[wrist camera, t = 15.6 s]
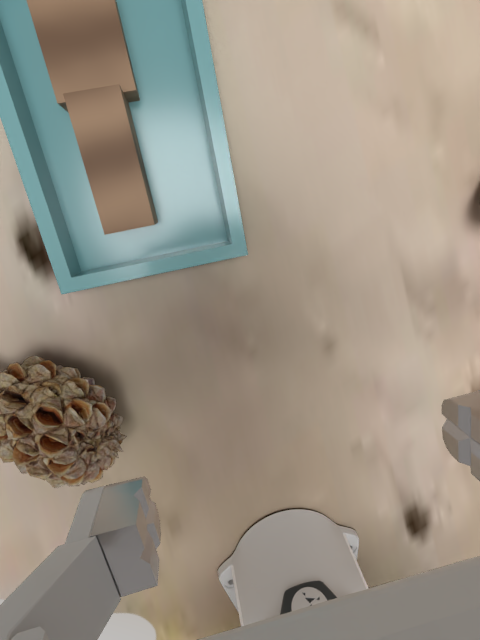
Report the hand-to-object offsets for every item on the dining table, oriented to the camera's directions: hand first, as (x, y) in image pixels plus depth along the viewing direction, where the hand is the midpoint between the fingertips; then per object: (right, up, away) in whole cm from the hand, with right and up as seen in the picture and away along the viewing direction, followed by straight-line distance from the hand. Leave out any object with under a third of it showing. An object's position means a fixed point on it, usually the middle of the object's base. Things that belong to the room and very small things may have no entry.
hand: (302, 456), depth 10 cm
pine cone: (-23, -2, +28) cm, 36 cm away
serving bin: (-12, +20, +23) cm, 33 cm away
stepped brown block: (-13, +20, +22) cm, 32 cm away
